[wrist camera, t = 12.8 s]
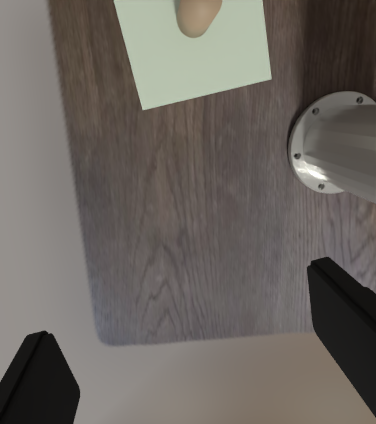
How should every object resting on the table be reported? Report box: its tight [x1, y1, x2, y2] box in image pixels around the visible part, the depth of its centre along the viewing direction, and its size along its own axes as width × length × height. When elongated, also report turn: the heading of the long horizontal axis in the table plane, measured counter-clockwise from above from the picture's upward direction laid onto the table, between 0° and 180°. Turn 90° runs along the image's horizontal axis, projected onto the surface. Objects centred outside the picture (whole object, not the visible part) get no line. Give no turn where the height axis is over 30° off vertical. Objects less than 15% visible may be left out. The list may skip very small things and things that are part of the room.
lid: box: [114, 0, 271, 110], centre depth 25 cm, size 13×13×6 cm
